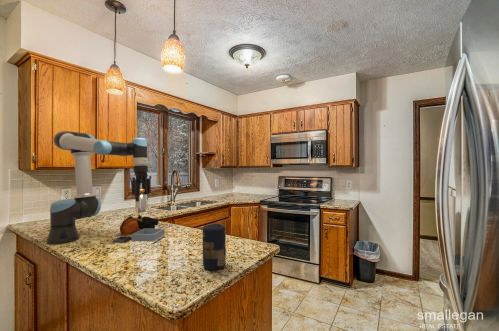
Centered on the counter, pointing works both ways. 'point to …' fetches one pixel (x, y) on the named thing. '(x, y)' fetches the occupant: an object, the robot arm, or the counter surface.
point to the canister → (214, 246)
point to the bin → (148, 235)
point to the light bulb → (142, 202)
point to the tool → (137, 224)
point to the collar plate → (121, 240)
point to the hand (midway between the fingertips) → (142, 206)
